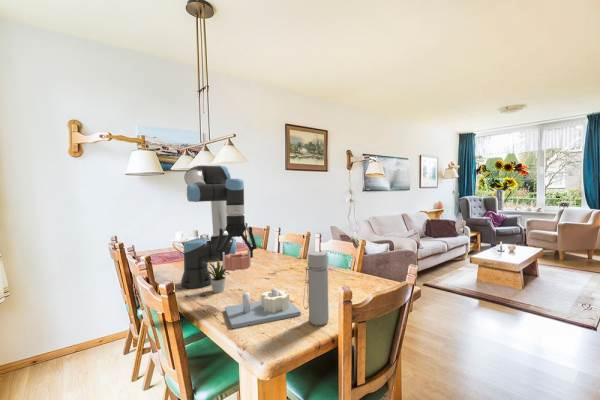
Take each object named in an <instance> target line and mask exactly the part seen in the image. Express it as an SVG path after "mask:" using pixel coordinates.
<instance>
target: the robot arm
mask: <svg viewBox="0 0 600 400" xmlns="http://www.w3.org/2000/svg"><path fill="white" fill-rule="evenodd" d="M183 177H184V180H183V181H184V182H185V184H186V185H187V186H186V199H187V201H188V202H192V203H193V202H194V203H198V202H200V203H201V202H210V204H211V205H210V207H211V208H210V209H211V221H212V222H211V223H212V234H211V236H210V239H209V240H208V239H207V237H202V238H201V237H200V238H194V239H190V240H188V241H185V242H184V244H183V250H182V252H183V268H184V269H183V273H182V277H181V280H180V287H182V288H183V289H184V288H185V289H198V288H203V287H207V286H209V285H212V284H211V278H212V276H211V274H208V273H206V272H207V271H209V270H210V269H209V264H210V262H211V263H212V262H213V263H216V262H218V258H219V262H221V261H222V265H223V269H225V256H226V255H229V254H237V253H236V252H237V242H236V238H235V237H238V238H240V237H241V239H242V240H243V242H244V244H245V245H246V247H248V250H247V254H248V255H249V264H250V267H251V266H252V265H251V264H252V263H251V262H252V261H251V259H252V258H253V257H254V254H253V252H254V250H257V248H258V246H257V244H256V240H255V237H254V234H253V227H252V226H246V224H245V219H246V218H245V215H244V214H245V184H244V180H243V179H242V178H231V172H230V169H229V168H228V167H227V166H225V165H224V166H222V165H196V166H193V167H191V168H189V169H188V170H186V172H185V173H184V176H183ZM245 231H247V232H248V235H249V238H250V242H251V244H250V242H249V240H248V239H247V237H246V235H245V234H244V233H245ZM210 260H211V261H210ZM204 262H205V263H204ZM206 263H207V264H206ZM223 269H222V270H223ZM209 272H210V271H209Z"/></svg>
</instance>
